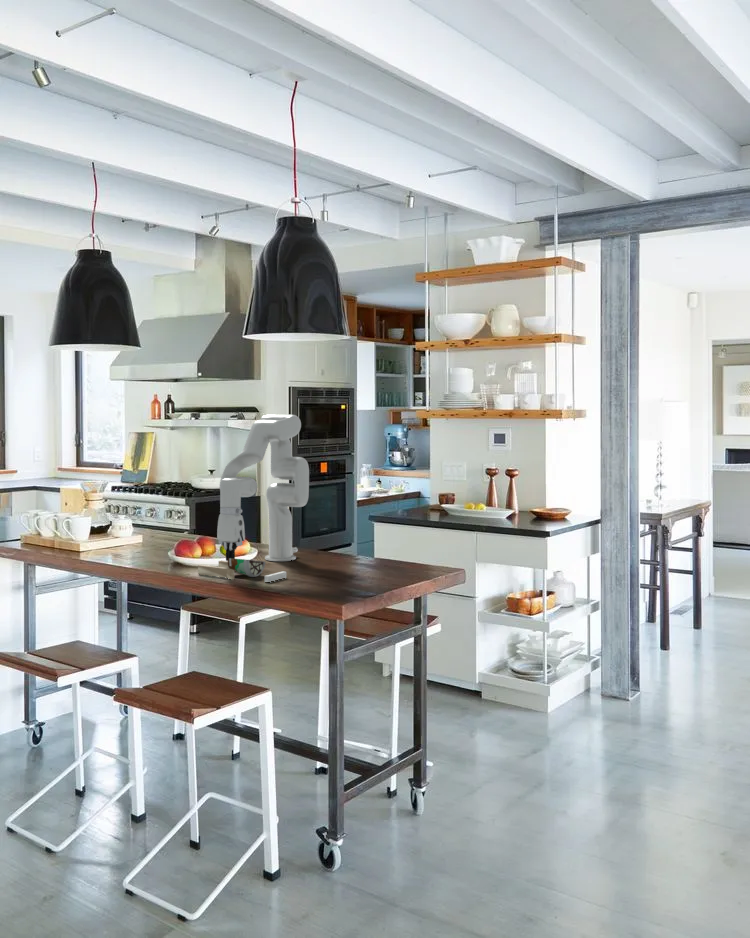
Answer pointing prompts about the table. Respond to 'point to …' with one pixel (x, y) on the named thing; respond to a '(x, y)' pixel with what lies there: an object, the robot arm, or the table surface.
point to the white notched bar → (275, 576)
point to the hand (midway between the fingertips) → (230, 560)
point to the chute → (217, 570)
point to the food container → (246, 566)
